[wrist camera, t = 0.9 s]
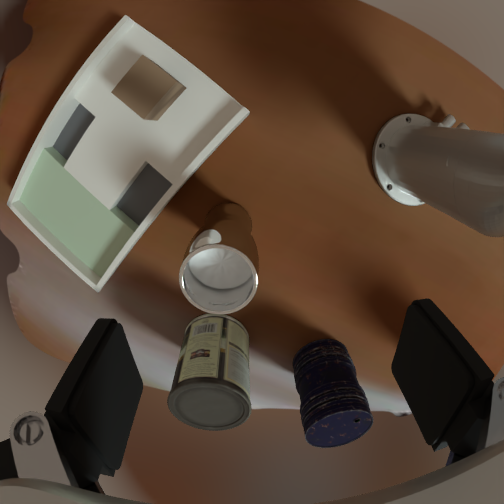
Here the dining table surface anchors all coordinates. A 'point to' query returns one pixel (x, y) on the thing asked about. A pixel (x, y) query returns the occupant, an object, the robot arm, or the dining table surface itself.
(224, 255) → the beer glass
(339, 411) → the storage jar
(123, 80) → the walnut block
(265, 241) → the dining table surface
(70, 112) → the box
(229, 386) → the coffee can
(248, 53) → the dining table surface
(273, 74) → the dining table surface
